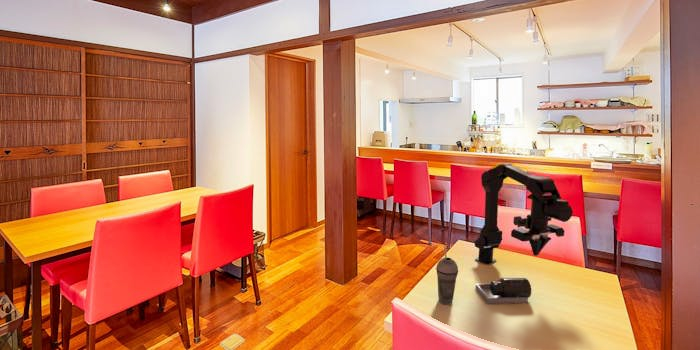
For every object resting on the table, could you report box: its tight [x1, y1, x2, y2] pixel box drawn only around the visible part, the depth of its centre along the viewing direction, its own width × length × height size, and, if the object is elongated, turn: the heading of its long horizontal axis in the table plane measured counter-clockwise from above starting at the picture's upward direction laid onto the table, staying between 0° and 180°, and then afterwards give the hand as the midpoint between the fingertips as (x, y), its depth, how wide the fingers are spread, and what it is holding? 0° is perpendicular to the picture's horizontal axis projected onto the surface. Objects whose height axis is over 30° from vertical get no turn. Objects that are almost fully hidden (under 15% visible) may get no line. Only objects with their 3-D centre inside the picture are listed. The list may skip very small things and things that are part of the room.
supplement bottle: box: [489, 277, 532, 299], centre depth 122 cm, size 7×7×12 cm
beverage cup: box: [435, 244, 459, 306], centre depth 119 cm, size 7×7×20 cm
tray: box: [475, 283, 529, 305], centre depth 124 cm, size 14×10×2 cm
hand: (535, 255), depth 127 cm, fingers closed
